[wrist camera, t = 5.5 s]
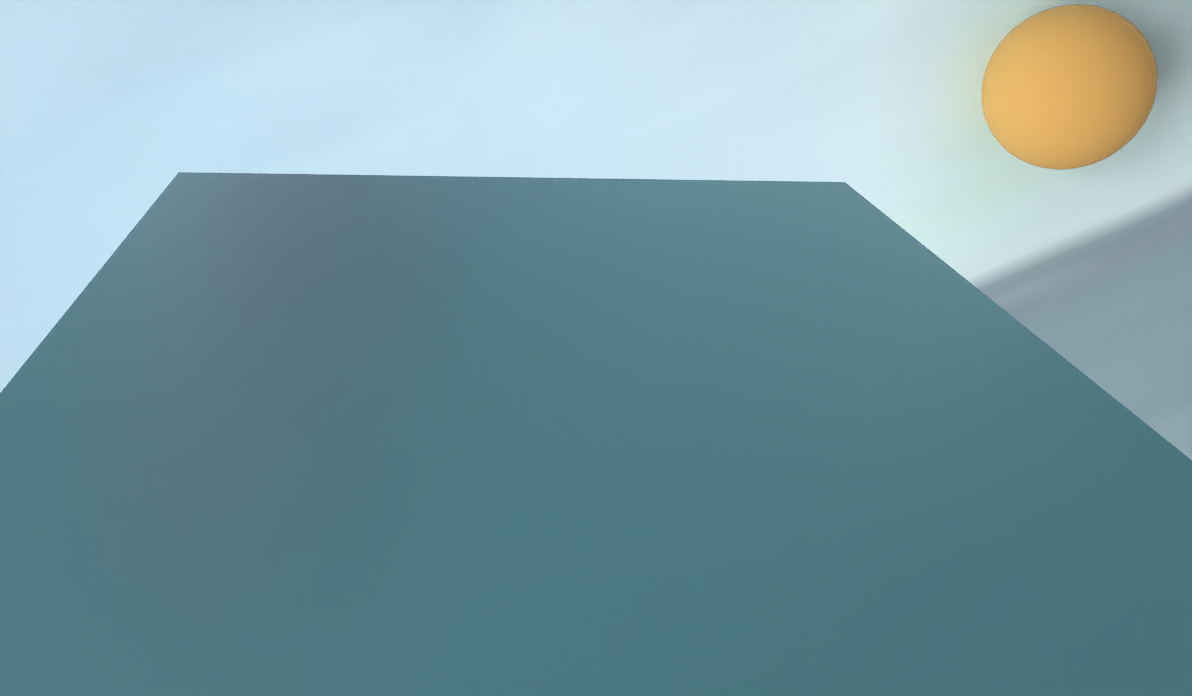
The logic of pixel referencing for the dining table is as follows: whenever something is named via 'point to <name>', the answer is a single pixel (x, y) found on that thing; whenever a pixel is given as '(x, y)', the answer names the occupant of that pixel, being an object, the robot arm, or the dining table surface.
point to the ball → (1069, 86)
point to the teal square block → (570, 458)
